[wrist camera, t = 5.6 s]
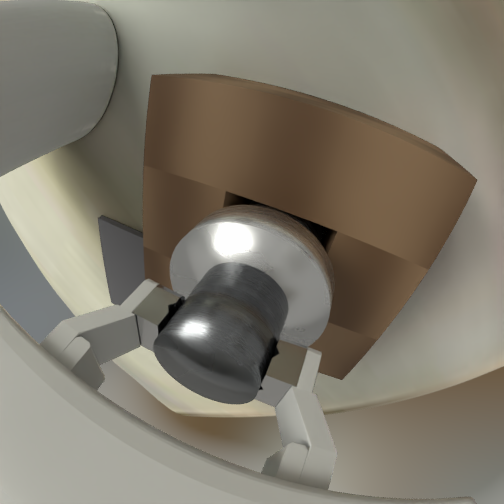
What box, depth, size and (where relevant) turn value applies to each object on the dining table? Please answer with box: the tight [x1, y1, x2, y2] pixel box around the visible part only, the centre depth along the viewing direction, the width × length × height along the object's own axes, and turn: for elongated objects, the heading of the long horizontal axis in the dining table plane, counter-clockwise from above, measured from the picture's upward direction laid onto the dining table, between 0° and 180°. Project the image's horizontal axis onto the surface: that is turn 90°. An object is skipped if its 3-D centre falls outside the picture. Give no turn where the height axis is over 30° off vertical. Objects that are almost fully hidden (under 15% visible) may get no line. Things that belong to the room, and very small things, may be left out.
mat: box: [98, 216, 145, 306], centre depth 27 cm, size 12×12×1 cm
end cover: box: [153, 201, 335, 404], centre depth 12 cm, size 6×6×9 cm
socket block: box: [143, 74, 477, 380], centre depth 16 cm, size 14×14×6 cm
